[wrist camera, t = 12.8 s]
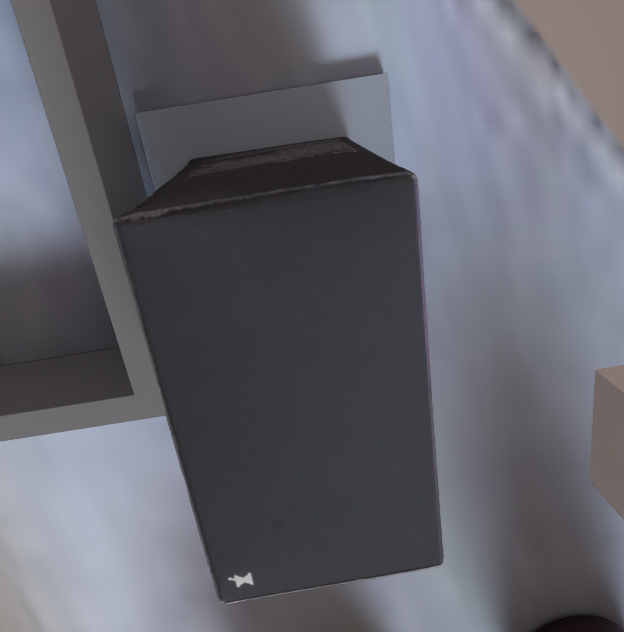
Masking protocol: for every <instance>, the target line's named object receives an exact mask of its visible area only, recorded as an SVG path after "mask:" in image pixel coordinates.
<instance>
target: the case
mask: <svg viewBox="0 0 624 632" xmlns="http://www.w3.org/2000/svg"><path fill="white" fill-rule="evenodd" d="M11 3H12V7H13V10H14V13H15V16H16V19H17V23H18V26H19V29H20V32H21V35H22V39H23V42H24V45H25V48H26V51H27V54H28V58H29V61H30V64H31V67H32V70H33V74H34V77H35V80H36V83H37V86H38V89H39V93H40V96H41V99H42V102H43V105H44V109H45V112H46V115H47V118H48V121H49V124H50V128H51V131H52V134H53V137H54V140H55V144H56V147H57V150H58V153H59V156H60V160H61V163H62V166H63V169H64V172H65V175H66V179H67V182H68V185H69V188H70V191H71V195H72V198H73V201H74V204H75V207H76V210H77V214H78V217H79V220H80V223H81V226H82V230H83V233H84V236H85V239H86V242H87V246H88V249H89V252H90V255H91V258H92V261H93V265H94V268H95V271H96V274H97V277H98V281H99V284H100V287H101V290H102V293H103V296H104V300H105V303H106V306H107V309H108V312H109V316H110V319H111V322H112V325H113V328H114V332H115V335H116V338H117V341H118V344H119V348H112V349H106V350H100V351H93V352H87V353H81V354H74V355H68V356H61V357H55V358H49V359H42V360H36V361H30V362H23V363H17V364H11V365H4V366H0V441H6V440H13V439H19V438H26V437H32V436H38V435H45V434H51V433H57V432H64V431H70V430H77V429H83V428H89V427H96V426H102V425H108V424H115V423H121V422H128V421H134V420H140V419H147V418H153V417H159V416H166V414H165V411H164V407H163V403H162V399H161V395H160V391H159V388H158V385H157V381H156V378H155V374H154V371H153V367H152V364H151V361H150V357H149V352H148V349H147V345H146V342H145V339H144V335H143V332H142V329H141V326H140V322H139V318H138V314H137V310H136V307H135V303H134V299H133V296H132V292H131V289H130V285H129V282H128V278H127V275H126V271H125V268H124V264H123V261H122V257H121V253H120V249H119V246H118V242H117V238H116V235H115V232H114V229H113V221H114V220H115V219H116V218H117V217H118V216H120V215H122V214H123V213H125V212H128V211H131V210H132V209H133V208H134V207H135V206H136V205H140V204H141V203H142V202H144V201H145V200H146V199H147V196H146V193H145V189H144V185H143V181H142V177H141V174H140V170H139V166H138V162H137V158H136V154H135V151H134V147H133V143H132V139H131V135H130V131H129V128H128V124H127V120H126V116H125V112H124V109H123V105H122V101H121V97H120V93H119V89H118V86H117V82H116V78H115V74H114V70H113V66H112V63H111V59H110V55H109V51H108V47H107V44H106V40H105V36H104V32H103V28H102V24H101V21H100V17H99V13H98V9H97V5H96V2H95V0H11Z"/></svg>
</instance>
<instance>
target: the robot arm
mask: <svg viewBox="0 0 624 632" xmlns="http://www.w3.org/2000/svg"><path fill="white" fill-rule="evenodd" d="M590 481H591V482H592V483H593V484H594V486H595V487H596V488H597V489H598V490H599V491H600V493H601V494H602V495H603V496H604V497H605V498H606V500H607V501H608V502H609V503H610V504H611V505H612V506H613V508H614V509H615V510H616V511H617V512H618V513H619V515H620V516H621V517H622V518H623V519H624V365H621V366H615V367H610V368H604V369H598V370H595V388H594V407H593V426H592V445H591V464H590Z"/></svg>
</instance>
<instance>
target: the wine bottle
mask: <svg viewBox="0 0 624 632" xmlns="http://www.w3.org/2000/svg"><path fill="white" fill-rule="evenodd" d="M537 632H624V631H623V630H622V629H621V628H620V627H619V626H618V625H617V624H615V623H613V622H611V621H609V620H607V619H603V618H599V617H591V616H581V617H572V618H567V619H563V620H560V621H557V622H554V623H552V624H550V625H548V626H545V627H543V628H542V629H540V630H539V631H537Z"/></svg>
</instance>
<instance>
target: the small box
mask: <svg viewBox="0 0 624 632" xmlns="http://www.w3.org/2000/svg"><path fill="white" fill-rule="evenodd" d="M113 229H114V232H115V235H116V238H117V242H118V246H119V249H120V253H121V257H122V261H123V264H124V268H125V271H126V275H127V278H128V282H129V285H130V289H131V292H132V296H133V299H134V303H135V307H136V310H137V314H138V318H139V322H140V326H141V329H142V332H143V335H144V339H145V342H146V345H147V349H148V352H149V357H150V361H151V364H152V367H153V371H154V374H155V378H156V381H157V385H158V388H159V391H160V395H161V399H162V403H163V407H164V411H165V414H166V418H167V421H168V425H169V428H170V432H171V435H172V438H173V442H174V446H175V449H176V453H177V456H178V459H179V463H180V467H181V470H182V474H183V476H184V479H185V482H186V486H187V490H188V494H189V498H190V502H191V506H192V509H193V512H194V515H195V519H196V523H197V527H198V531H199V534H200V538H201V541H202V544H203V547H204V551H205V555H206V558H207V563H208V565H209V567H210V572H211V575H212V578H213V582H214V586H215V589H216V593H217V596H218V599H219V601H221V602H222V603H225V604H230V603H236V602H241V601H246V600H250V599H258V598H262V597H269V596H274V595H279V594H286V593H291V592H298V591H305V590H309V589H314V588H320V587H327V586H333V585H339V584H345V583H350V582H355V581H361V580H368V579H374V578H380V577H386V576H391V575H397V574H402V573H408V572H414V571H419V570H423V569H430V568H436V567H439V566H441V565H442V563H443V546H442V531H441V519H440V505H439V491H438V478H437V464H436V450H435V436H434V423H433V409H432V394H431V379H430V364H429V349H428V334H427V319H426V304H425V289H424V273H423V257H422V240H421V222H420V208H419V192H418V180H417V177H416V175H415V174H414V173H412V172H411V171H408V170H406V169H405V168H402V167H399V166H397V165H395V164H393V163H392V162H390V161H387V160H385V159H384V158H383V157H380V156H378V155H376V154H375V153H373V152H371V151H369V150H368V149H366V148H364V147H362V146H361V145H359V144H357V143H355V142H353V141H352V140H350V139H349V138H347V137H337V138H331V139H323V140H316V141H306V142H301V143H295V144H288V145H280V146H275V147H268V148H261V149H255V150H248V151H241V152H235V153H227V154H221V155H215V156H208V157H201V158H195V159H191V160H190V161H189V162H188V163H187V164H186V165H185V167H184V168H183V169H182V170H181V171H179V172H178V173H177V174H176V175H175V176H174V177H172V178H171V179H170V180H168V181H167V182H166V183H165V184H164V185H162V186H161V187H160V188H158V189H157V190H156V191H155V192H154V193H153V194H152V196H149V197H148V198H147V199H146V200H145V201H144V202H142V203H141V204H140V205H136V206H135V207H134V208H133V209H132V210H131V211H128V212H125V213H123V214H122V215H120V216H118V217H117V218H116V219H115V220H114V221H113Z"/></svg>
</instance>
